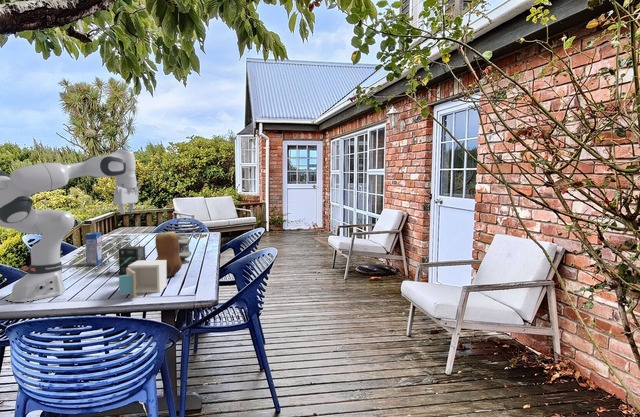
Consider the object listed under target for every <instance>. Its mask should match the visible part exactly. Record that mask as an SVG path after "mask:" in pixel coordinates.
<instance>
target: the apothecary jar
mask: <svg viewBox="0 0 640 417" xmlns="http://www.w3.org/2000/svg"><path fill="white" fill-rule="evenodd" d="M177 236H178V240H179V256H180V259H181V261H182V265H185V264H186V263H187V264H189V263H190V260H187V259H188V258H189V257H191V256H192V252H191V251H190V248H189V247H190V246H189V244H190V243H191V239H190V238H189V235H188V234H177Z"/></svg>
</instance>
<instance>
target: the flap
mask: <svg viewBox="0 0 640 417" xmlns="http://www.w3.org/2000/svg"><path fill="white" fill-rule="evenodd" d="M118 281H119V282H118V283H119V285H118V286H119V295H121V296H123V295H130V296H132V297H133V298H134V299H135V298H137V293H136V273H135V272H134V271H133V270H131V269H130V268H126V274H122V275H118Z"/></svg>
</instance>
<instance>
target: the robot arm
mask: <svg viewBox="0 0 640 417" xmlns="http://www.w3.org/2000/svg"><path fill="white" fill-rule="evenodd" d="M135 157H136V156H135V154H134V153H133V152H132V151H131V150H128V149H123V148H122V149H121V148H120V149H119V148H118V149H116V150H115V151H114V152H112V153H109V154H106V155H99V156H98V155H92V156H88V157H87V158H85V159H84V160H83V161H79V162H74V163H70V164H69V163H68V164H62V163H61V162H44V163H37V164H36V163H35V164H32V165H27V166H26V165H25V166H24V167H20V168H17V169H15V170H13V171H12V172H11V173H10V175H9V174H8V173H7V172H6V171H3V170H0V227H1V228H6V229H10V230H11V229H12V230H16V231H17V232H19V233H23V234H28V235H29V234H30V235H36V234H37V235H41V238H40V239H39V241H38V242H36V243H34V244H33V245H32V246H31V248H30V258H31V259H30V260H31V263H30V265H29V266H27V265H23V266H22V268H21V271H24V272H27V273H26V274H25V275H24V276H22V277H21V278H20V279H19V280H18V281H16V282H15V283H14V284H13V285H12V289H11V295H8V296H5V301H6V300H8V301H7V302H9V301H12V302H11V303H15V302H24V303H28V302H27V301H29V302H33V300H34V301H38V299H39V300H43V298H44V299H48V298H52V297H57V296H61V295H63V293H65V292H66V287H65V285H64V281H63V280H64V279H63V276H62V272H63V266H62V265H63V264H62V261H61V245H62V241H63V239H64V238H65V236H66V235H67V234H68V233H69V232H70V231H71V230H72V229H73V228H74V226H75V217H74V216H73V214H72V213H71V212H69V211H66V210H62V209H61V210H60V209H35V208H34V207H33V204H34V200H33V198H31V196H32V195H34V194H38V193H42V192H48V191H53V190H56V189H60V188H62V187H65V186H66V185H68V182H69V181H70V179H71V180H72V179H75V178H80V177H81V178H82V177H90V178H112V177H115V178H114V179H115V180H114V181H115V189H114V190H113V204H114V205H115V206H118V209H119V211H120V214H121V215H125V214H126V210H125V205H128V208H127V210H128V213H129V214H130V213H134V207H135V203H138V201H139V188H140V183H139V182H138V181H137V176H136V166H137V165H136V164H137V163H136V158H135Z"/></svg>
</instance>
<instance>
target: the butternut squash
mask: <svg viewBox="0 0 640 417" xmlns="http://www.w3.org/2000/svg"><path fill="white" fill-rule="evenodd" d="M177 235H178V233H176V232H175V231H172V230H171V231H166V232H163V231H162V232H158V233H157V234H156V236H155V240H154V241H155V250H156V253H157V254H156V255H157V256H156V260H167V278H169V277H175V276H176V275H177V274H178V272H179V271H180V270H181V269H182V265H183V264H182V261H181V259H180V256H179V240H178V236H177Z"/></svg>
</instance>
